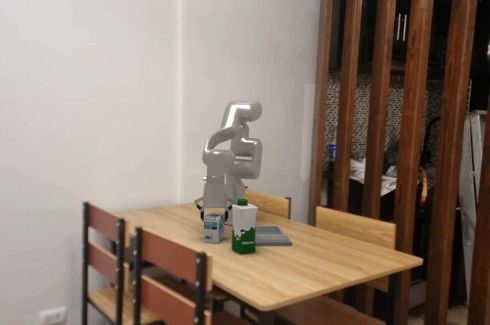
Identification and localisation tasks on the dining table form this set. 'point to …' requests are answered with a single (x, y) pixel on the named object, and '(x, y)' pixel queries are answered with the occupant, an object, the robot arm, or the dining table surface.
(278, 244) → the dock board
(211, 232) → the light bulb box
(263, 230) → the aluminium frame
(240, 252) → the milk carton
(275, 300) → the dining table surface
